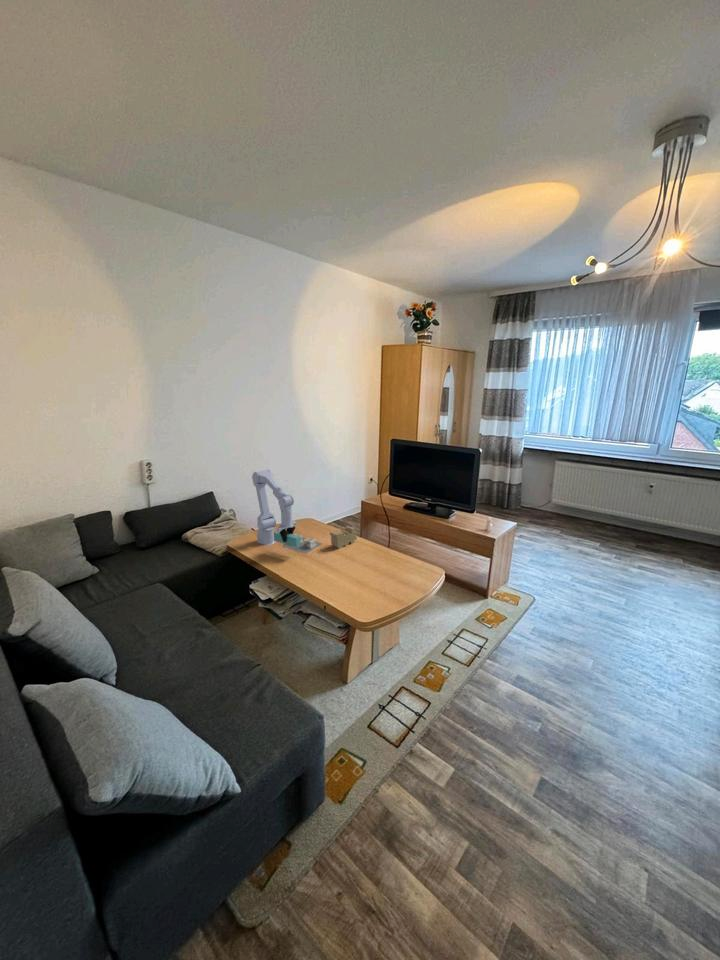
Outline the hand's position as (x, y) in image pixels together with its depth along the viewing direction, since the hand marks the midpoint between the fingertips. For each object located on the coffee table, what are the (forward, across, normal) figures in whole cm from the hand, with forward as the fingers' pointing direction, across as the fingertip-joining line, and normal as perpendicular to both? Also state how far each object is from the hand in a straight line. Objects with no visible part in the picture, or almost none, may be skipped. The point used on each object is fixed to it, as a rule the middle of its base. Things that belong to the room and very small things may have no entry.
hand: (287, 540), depth 213 cm
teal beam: (+2, 0, 0) cm, 2 cm away
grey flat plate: (+8, +13, 0) cm, 15 cm away
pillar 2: (+8, +14, -5) cm, 17 cm away
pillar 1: (+8, +14, +5) cm, 17 cm away
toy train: (+9, +27, -20) cm, 35 cm away
